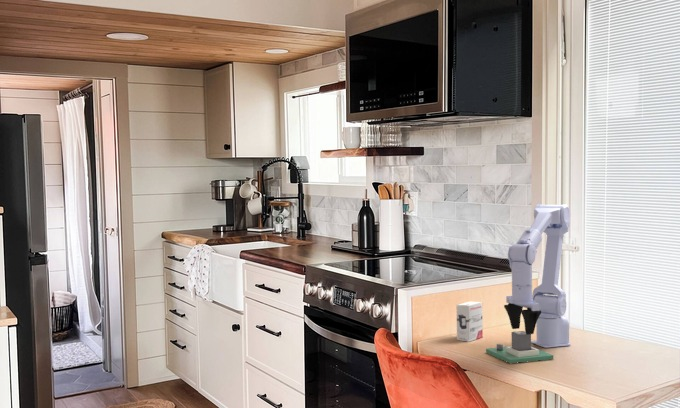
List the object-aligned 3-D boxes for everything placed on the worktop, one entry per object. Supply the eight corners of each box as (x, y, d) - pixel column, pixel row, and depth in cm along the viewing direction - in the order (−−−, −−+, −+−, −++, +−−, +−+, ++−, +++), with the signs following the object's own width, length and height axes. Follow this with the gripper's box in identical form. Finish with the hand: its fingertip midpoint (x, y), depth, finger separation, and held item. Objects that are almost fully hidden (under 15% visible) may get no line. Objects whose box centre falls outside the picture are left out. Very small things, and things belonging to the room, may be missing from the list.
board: (526, 348, 211) (526, 339, 211) (553, 359, 198) (553, 349, 198) (486, 352, 207) (485, 343, 207) (510, 364, 194) (510, 354, 194)
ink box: (470, 335, 230) (470, 300, 230) (483, 337, 227) (483, 302, 227) (456, 340, 224) (455, 304, 224) (469, 342, 221) (469, 305, 220)
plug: (523, 351, 203) (523, 329, 203) (531, 354, 199) (531, 332, 199) (511, 352, 202) (511, 330, 202) (519, 355, 198) (518, 333, 198)
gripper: (497, 282, 206) (497, 327, 206) (523, 289, 192) (524, 337, 192) (517, 280, 208) (518, 325, 208) (545, 287, 194) (545, 335, 194)
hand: (522, 331), depth 200 cm, fingers open, 7 cm apart
